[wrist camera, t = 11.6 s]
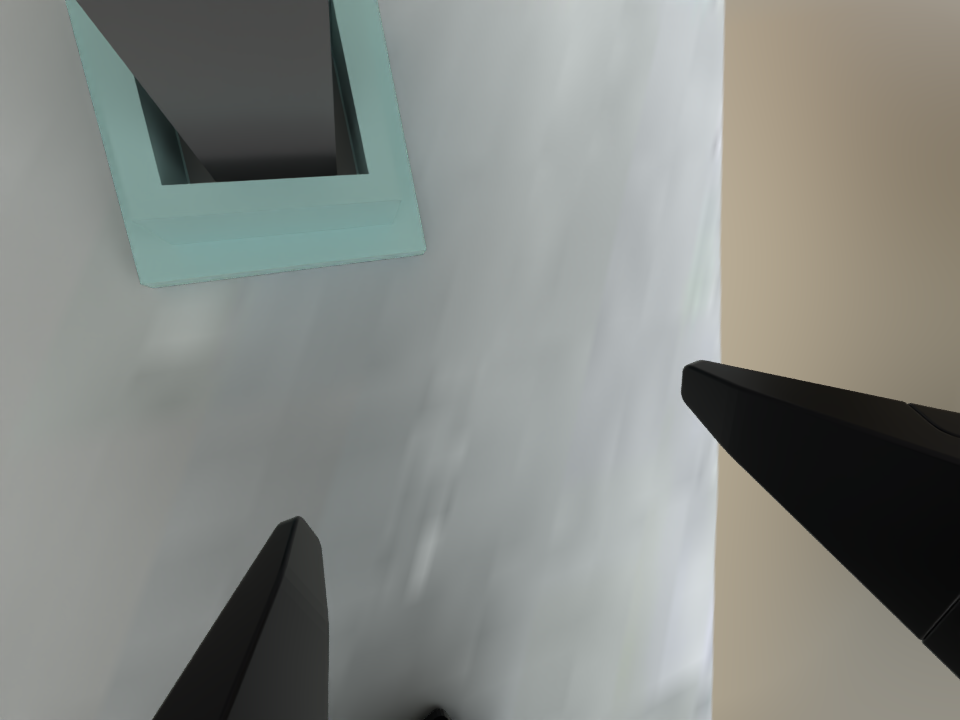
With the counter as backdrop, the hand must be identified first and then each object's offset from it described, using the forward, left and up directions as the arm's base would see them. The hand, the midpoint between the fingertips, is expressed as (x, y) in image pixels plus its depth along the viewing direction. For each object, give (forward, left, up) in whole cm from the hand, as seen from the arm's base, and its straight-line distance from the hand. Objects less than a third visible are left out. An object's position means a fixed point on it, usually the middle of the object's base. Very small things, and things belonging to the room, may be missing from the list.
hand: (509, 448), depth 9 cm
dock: (0, +13, -11) cm, 17 cm away
